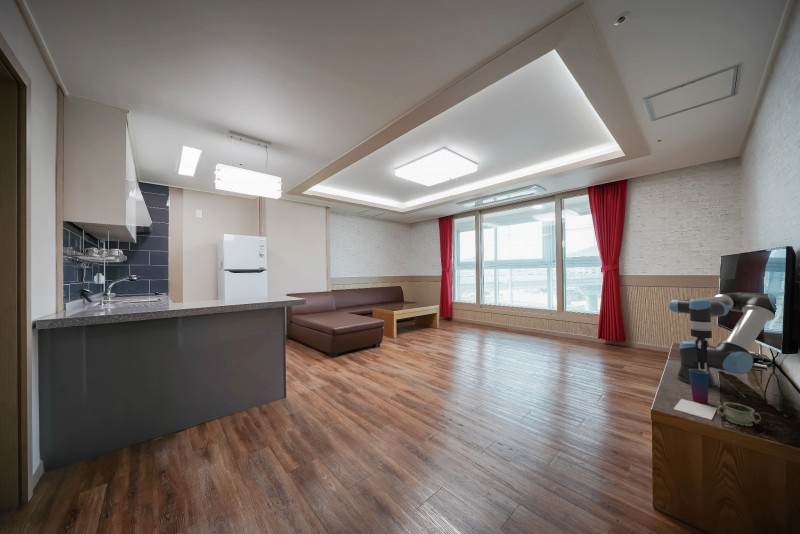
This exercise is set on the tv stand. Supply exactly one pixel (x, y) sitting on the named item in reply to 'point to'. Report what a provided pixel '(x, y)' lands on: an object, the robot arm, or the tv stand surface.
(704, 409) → the mat
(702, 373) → the cup
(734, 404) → the vessel
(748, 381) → the tv stand surface
